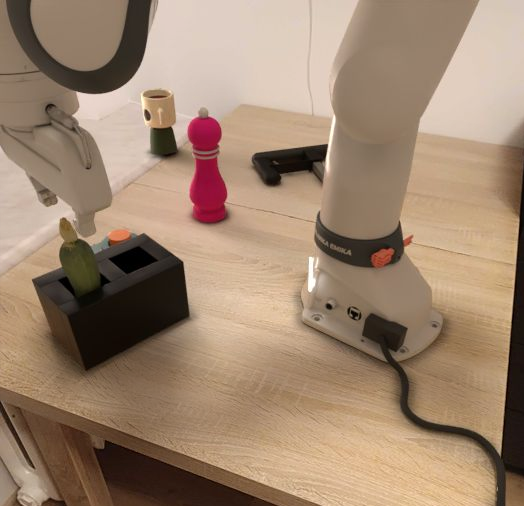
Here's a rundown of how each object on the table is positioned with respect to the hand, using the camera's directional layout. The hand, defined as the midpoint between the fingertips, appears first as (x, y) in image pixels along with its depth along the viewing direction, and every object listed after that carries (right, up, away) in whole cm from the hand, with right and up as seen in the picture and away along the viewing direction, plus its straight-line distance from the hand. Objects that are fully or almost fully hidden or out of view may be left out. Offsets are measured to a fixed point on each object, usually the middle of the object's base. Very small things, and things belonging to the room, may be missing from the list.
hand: (67, 218), depth 59 cm
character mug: (0, +31, +59) cm, 67 cm away
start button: (-1, +2, +24) cm, 25 cm away
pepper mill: (+13, +11, +39) cm, 42 cm away
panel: (-1, 0, +27) cm, 27 cm away
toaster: (+2, -12, +15) cm, 20 cm away
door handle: (+32, +24, +53) cm, 66 cm away
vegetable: (0, -14, +14) cm, 20 cm away
